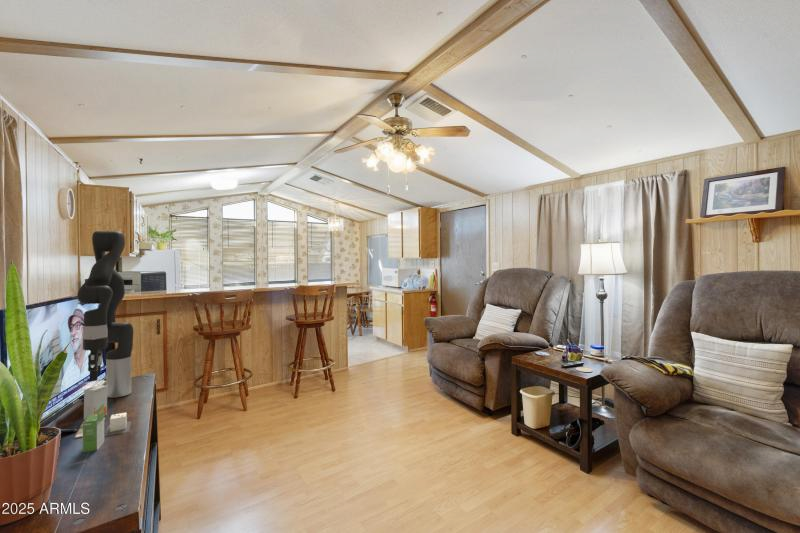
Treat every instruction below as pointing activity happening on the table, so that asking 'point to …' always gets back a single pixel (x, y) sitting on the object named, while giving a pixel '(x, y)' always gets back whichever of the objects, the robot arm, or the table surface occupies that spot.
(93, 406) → the skincare box
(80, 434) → the board
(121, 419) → the die
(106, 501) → the table surface
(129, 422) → the mat
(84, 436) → the ink box
